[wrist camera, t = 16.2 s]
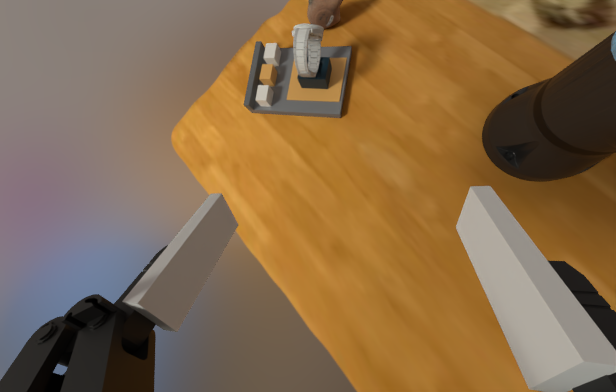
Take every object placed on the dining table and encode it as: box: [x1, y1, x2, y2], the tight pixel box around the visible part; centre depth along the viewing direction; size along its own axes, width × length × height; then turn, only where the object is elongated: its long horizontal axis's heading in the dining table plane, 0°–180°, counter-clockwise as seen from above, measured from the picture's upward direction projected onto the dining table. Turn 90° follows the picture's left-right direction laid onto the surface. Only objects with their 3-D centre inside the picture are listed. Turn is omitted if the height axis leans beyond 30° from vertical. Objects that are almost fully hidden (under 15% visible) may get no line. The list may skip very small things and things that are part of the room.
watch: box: [292, 24, 332, 89], centre depth 38 cm, size 6×8×11 cm
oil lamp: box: [308, 0, 343, 29], centre depth 42 cm, size 9×4×8 cm, turn 98°
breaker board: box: [244, 42, 352, 118], centre depth 44 cm, size 20×14×4 cm
